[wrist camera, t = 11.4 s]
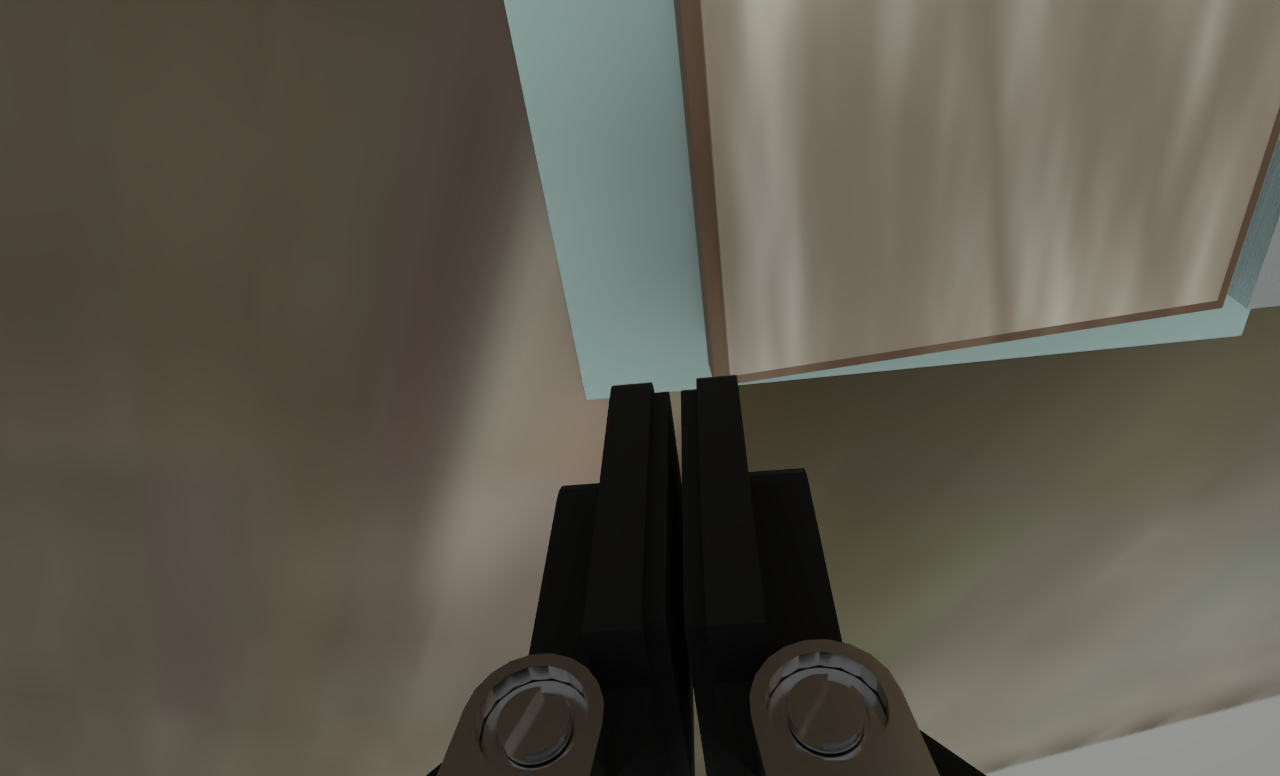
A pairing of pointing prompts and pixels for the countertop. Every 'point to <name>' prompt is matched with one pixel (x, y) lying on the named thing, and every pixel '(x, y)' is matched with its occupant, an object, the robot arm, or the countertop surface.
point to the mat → (675, 205)
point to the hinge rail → (1261, 248)
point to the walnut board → (966, 168)
